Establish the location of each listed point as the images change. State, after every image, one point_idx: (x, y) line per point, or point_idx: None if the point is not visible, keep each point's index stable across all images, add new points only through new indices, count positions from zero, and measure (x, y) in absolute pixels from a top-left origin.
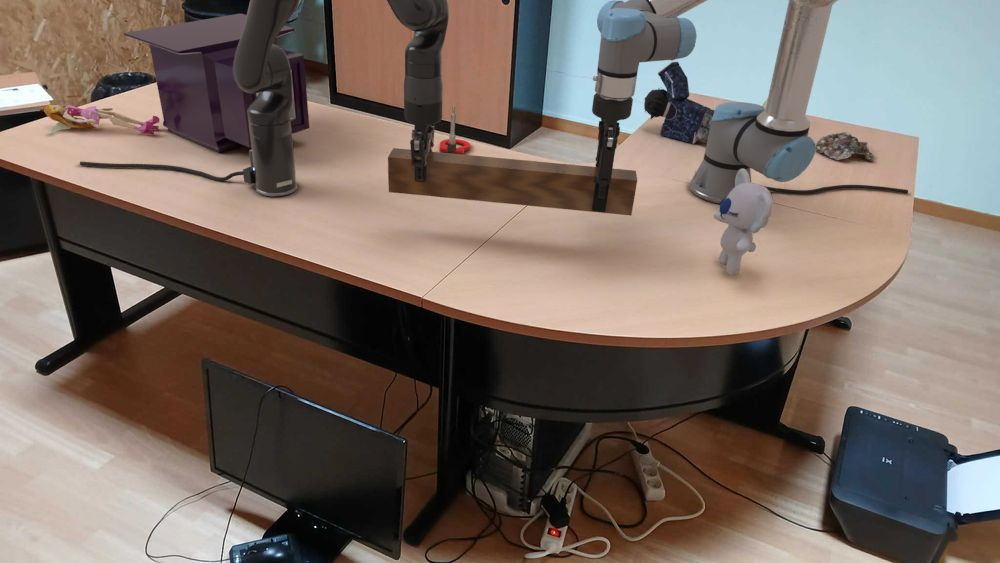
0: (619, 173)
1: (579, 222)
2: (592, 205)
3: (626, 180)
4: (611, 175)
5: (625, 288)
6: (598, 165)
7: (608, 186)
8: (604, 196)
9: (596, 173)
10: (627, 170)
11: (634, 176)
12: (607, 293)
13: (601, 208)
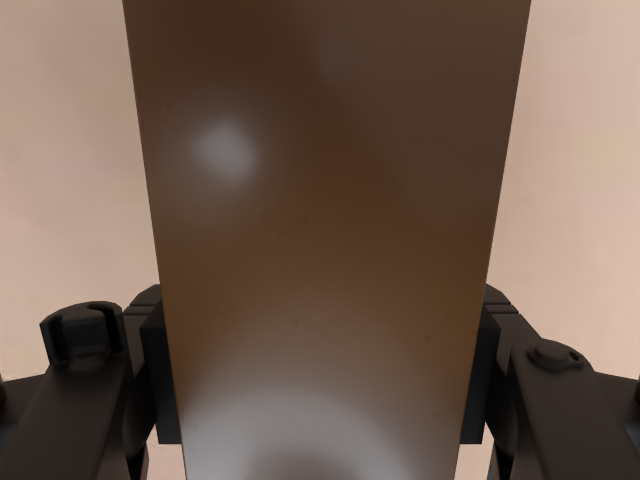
0: (307, 234)
1: (106, 225)
2: None
3: (505, 143)
4: (395, 333)
5: (590, 63)
6: (145, 458)
7: (484, 311)
8: (501, 296)
9: (367, 474)
10: (163, 110)
11: (379, 4)
12: (621, 135)
13: None
